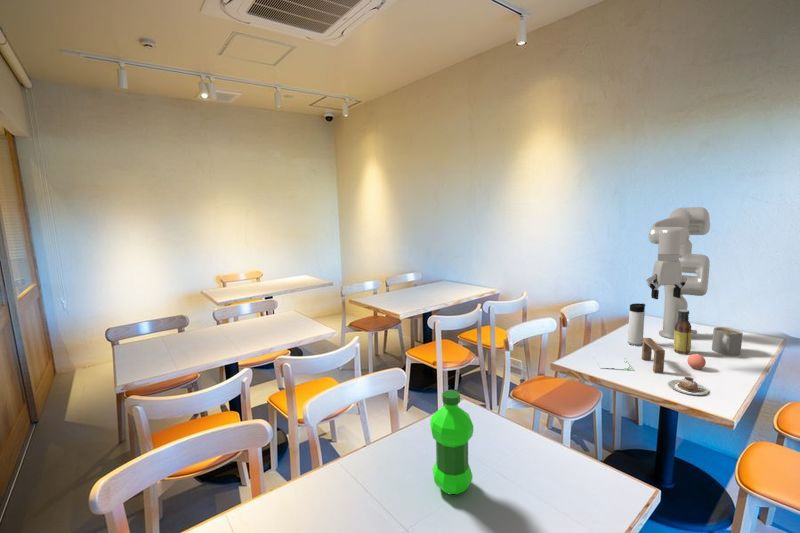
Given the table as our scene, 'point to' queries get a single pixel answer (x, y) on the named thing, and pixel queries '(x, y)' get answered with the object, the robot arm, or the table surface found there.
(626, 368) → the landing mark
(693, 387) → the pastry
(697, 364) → the ball
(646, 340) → the bridge
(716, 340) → the coffee mug
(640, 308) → the travel mug
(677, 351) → the sauce bottle
